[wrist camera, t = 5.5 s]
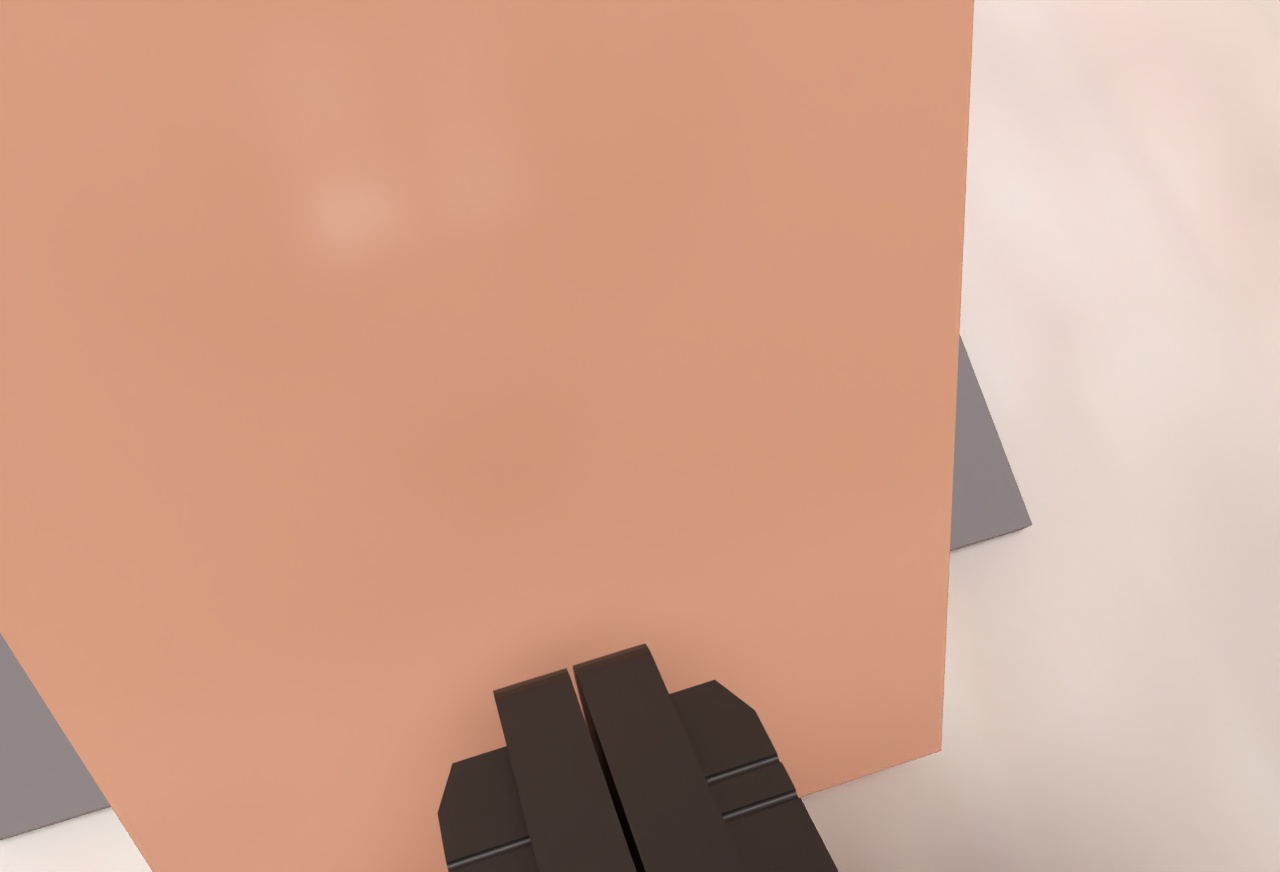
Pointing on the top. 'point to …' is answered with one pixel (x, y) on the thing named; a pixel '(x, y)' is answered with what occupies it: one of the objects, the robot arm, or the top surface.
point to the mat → (64, 789)
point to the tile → (468, 387)
